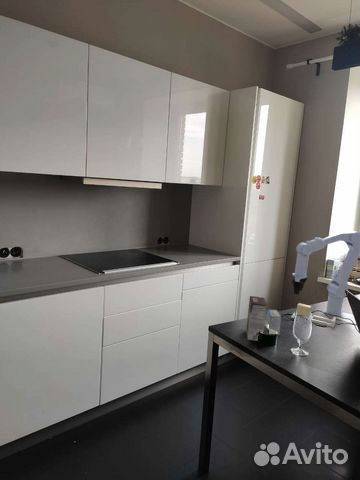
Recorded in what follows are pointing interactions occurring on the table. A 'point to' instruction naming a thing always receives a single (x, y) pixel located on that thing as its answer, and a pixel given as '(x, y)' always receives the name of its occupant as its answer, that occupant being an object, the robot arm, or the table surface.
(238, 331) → the table surface
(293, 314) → the mat
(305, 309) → the tan rectangular block
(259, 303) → the coffee box
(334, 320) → the dispenser
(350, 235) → the robot arm
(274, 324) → the medicine box
